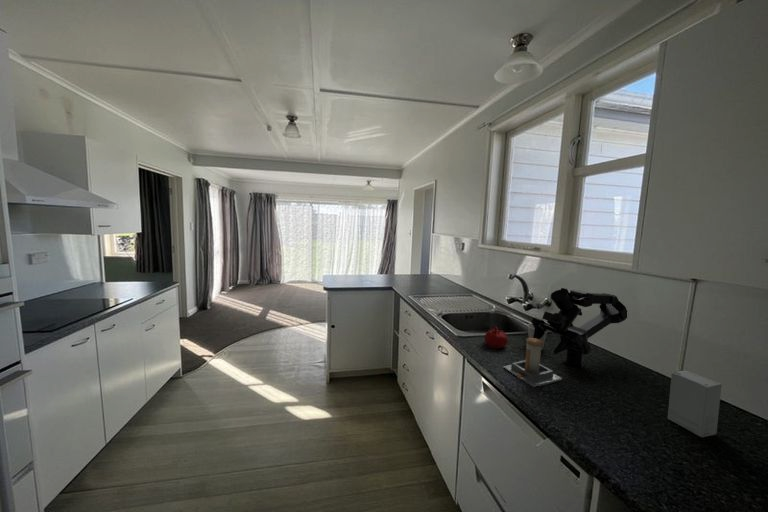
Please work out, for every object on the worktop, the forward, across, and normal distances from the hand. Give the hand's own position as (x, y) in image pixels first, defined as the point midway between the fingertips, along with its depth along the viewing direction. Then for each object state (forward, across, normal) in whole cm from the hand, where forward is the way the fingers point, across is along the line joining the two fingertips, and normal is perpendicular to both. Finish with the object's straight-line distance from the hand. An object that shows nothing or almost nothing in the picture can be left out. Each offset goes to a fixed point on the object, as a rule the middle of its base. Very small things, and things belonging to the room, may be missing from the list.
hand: (543, 348), depth 109 cm
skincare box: (-3, +36, +17) cm, 41 cm away
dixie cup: (-5, -16, +19) cm, 25 cm away
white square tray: (+10, 0, +3) cm, 11 cm away
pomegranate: (+7, -24, +7) cm, 26 cm away
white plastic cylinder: (+10, 0, +2) cm, 10 cm away
